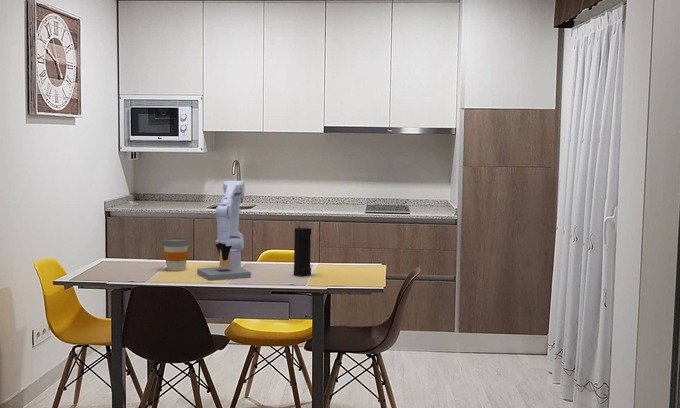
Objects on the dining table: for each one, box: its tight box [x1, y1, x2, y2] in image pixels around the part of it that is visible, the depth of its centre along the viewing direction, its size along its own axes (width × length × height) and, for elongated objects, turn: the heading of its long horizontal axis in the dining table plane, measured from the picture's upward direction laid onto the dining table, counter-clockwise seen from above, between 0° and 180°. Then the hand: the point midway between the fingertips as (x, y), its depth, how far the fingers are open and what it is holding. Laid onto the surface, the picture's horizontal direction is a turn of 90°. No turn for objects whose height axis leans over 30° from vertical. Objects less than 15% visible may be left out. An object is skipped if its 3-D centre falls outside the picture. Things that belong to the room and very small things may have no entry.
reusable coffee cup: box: [162, 237, 190, 272], centre depth 396 cm, size 13×13×15 cm
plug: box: [219, 249, 230, 267], centre depth 380 cm, size 4×4×8 cm
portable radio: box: [293, 226, 312, 277], centre depth 382 cm, size 8×6×25 cm
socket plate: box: [196, 266, 252, 282], centre depth 380 cm, size 20×20×2 cm
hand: (223, 259), depth 380 cm, fingers closed on plug, 4 cm apart
